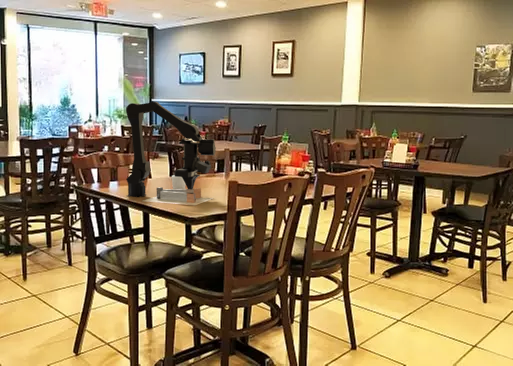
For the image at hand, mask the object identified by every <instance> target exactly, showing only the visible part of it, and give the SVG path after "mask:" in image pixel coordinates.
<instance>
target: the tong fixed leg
mask: <svg viewBox="0 0 513 366" xmlns="http://www.w3.org/2000/svg"><path fill="white" fill-rule="evenodd" d="M160 200H165V201H178V202H190V203H194V202H196V193H185V192H171V191H160Z"/></svg>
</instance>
